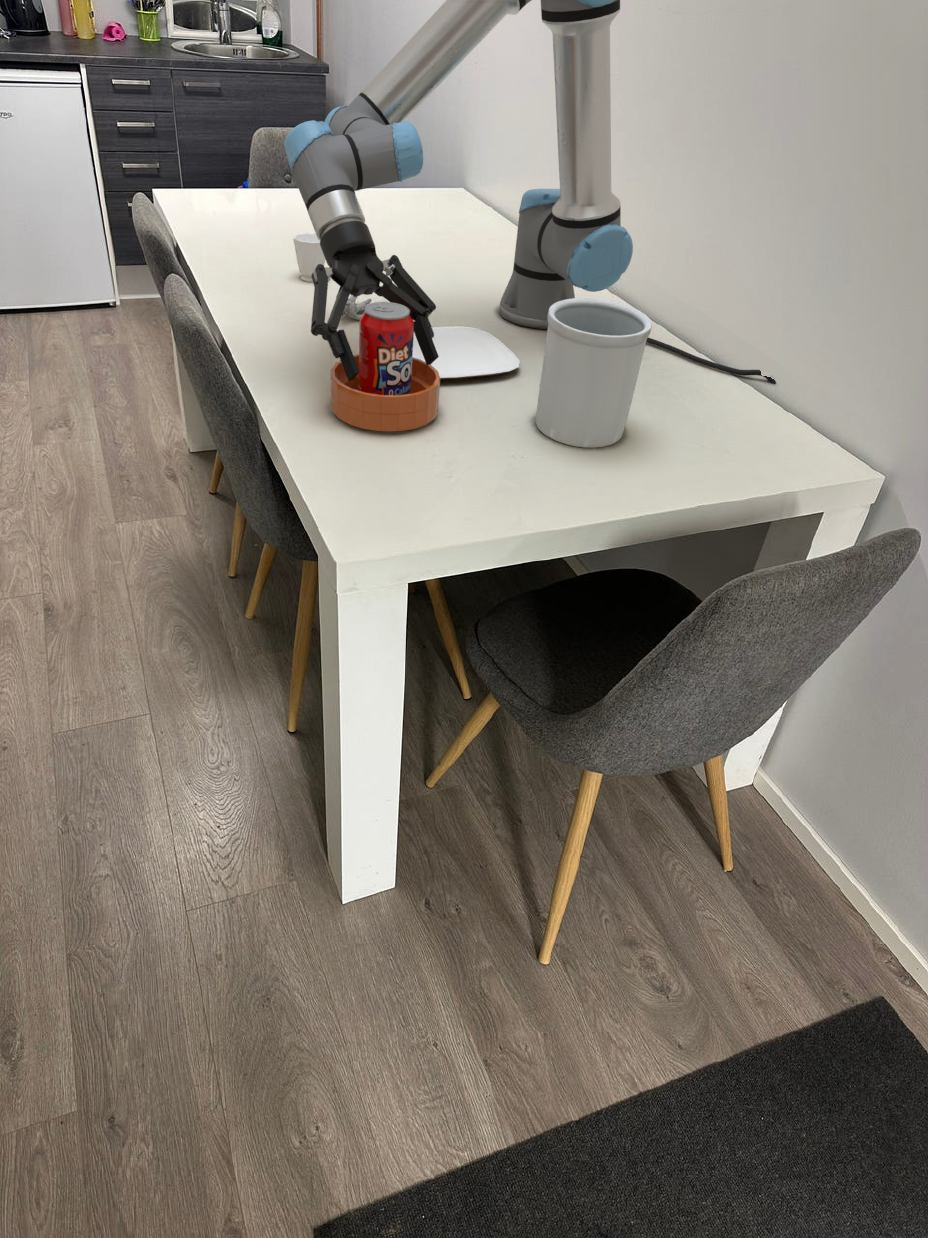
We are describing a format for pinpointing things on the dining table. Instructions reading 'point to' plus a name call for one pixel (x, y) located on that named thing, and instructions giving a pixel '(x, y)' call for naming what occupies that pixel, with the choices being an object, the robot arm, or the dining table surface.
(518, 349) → the dining table surface
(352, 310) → the soldier figure
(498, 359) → the plate
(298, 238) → the cup
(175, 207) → the dining table surface
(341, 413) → the bowl
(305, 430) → the dining table surface
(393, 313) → the soda can
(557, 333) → the utensil holder
